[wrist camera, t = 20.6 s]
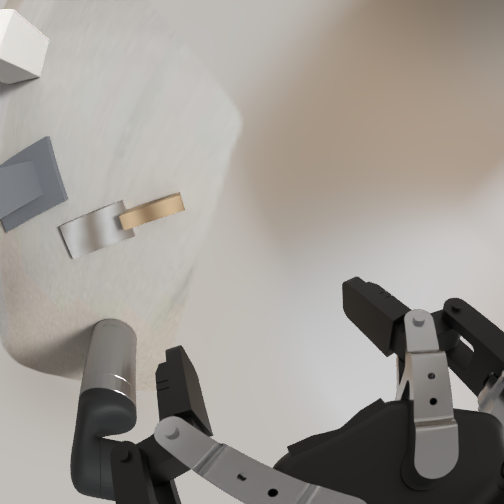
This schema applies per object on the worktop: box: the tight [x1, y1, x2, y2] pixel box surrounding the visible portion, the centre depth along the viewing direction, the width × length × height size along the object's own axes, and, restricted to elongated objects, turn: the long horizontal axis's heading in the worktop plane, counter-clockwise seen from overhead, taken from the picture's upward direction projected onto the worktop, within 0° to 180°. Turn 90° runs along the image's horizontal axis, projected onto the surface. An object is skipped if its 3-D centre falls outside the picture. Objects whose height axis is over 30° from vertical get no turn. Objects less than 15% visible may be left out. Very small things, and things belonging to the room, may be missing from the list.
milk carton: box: [0, 9, 49, 84], centre depth 15 cm, size 7×7×19 cm
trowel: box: [60, 192, 185, 259], centre depth 39 cm, size 21×6×2 cm, turn 103°
